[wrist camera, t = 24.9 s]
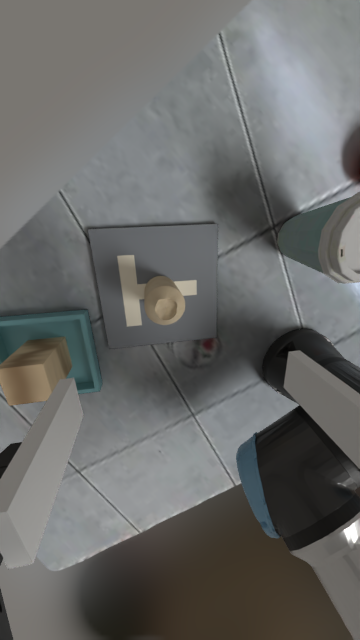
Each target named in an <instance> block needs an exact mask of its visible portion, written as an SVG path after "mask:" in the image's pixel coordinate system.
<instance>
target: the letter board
mask: <svg viewBox="0 0 360 640" xmlns="http://www.w3.org/2000/svg"><path fill="white" fill-rule="evenodd" d="M88 234H89V239H90V245H91V250H92V256H93V262H94V267H95V273H96V279H97V284H98V290H99V295H100V301H101V307H102V312H103V318H104V324H105V329H106V335H107V340H108V346H109V349H115V348H124V347H133V346H143V345H152V344H161V343H170V342H180V341H189V340H198V339H207V338H217V269H218V224H201V225H177V226H153V227H130V228H106V229H88ZM156 276H165V277H168V278H170V279H171V280H172V281H173V282H174V283H175V285H176V286H177V288H178V289H179V291H180V292H181V294H182V295H183V297H184V300H185V310H184V313H183V315H182V316H181V318H180V319H179V320H177V321H176V322H174V323H172V324H169V325H160V324H157V323H154V322H153V321H152V320H150V319H149V318H148V316H147V314H146V312H145V308H144V291H145V286H146V284H147V283H148V281H149V280H151V279H152V278H154V277H156Z"/></svg>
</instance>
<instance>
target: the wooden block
mask: <svg viewBox="0 0 360 640" xmlns="http://www.w3.org/2000/svg"><path fill="white" fill-rule="evenodd" d="M72 367H73V366H72V362H71V358H70V354H69V350H68V346H67V342H66V338H65V337H55V338H45V339H35V340H28V341H26V342H25V343H24V344H23V345H22V346H21V347H20V348H18V349H17V350H16V351H15V352H14V353H13V354H12V355H10V356H9V357H8V358H7V359H6V360H5V361H4V362H3V363H1V364H0V384H1V386H2V389H3V391H4V394H5V396H6V399H7V402H8V404H9V406H10V405H18V404H26V403H33V402H41V401H47V400H48V398H49V397H50V395H51V393H52V392H53V390H54V388H55V387H56V385H57V383H58V382H59V380H60V379H66V377H67V376H68V374H69V372H70V370H71V368H72Z"/></svg>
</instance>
